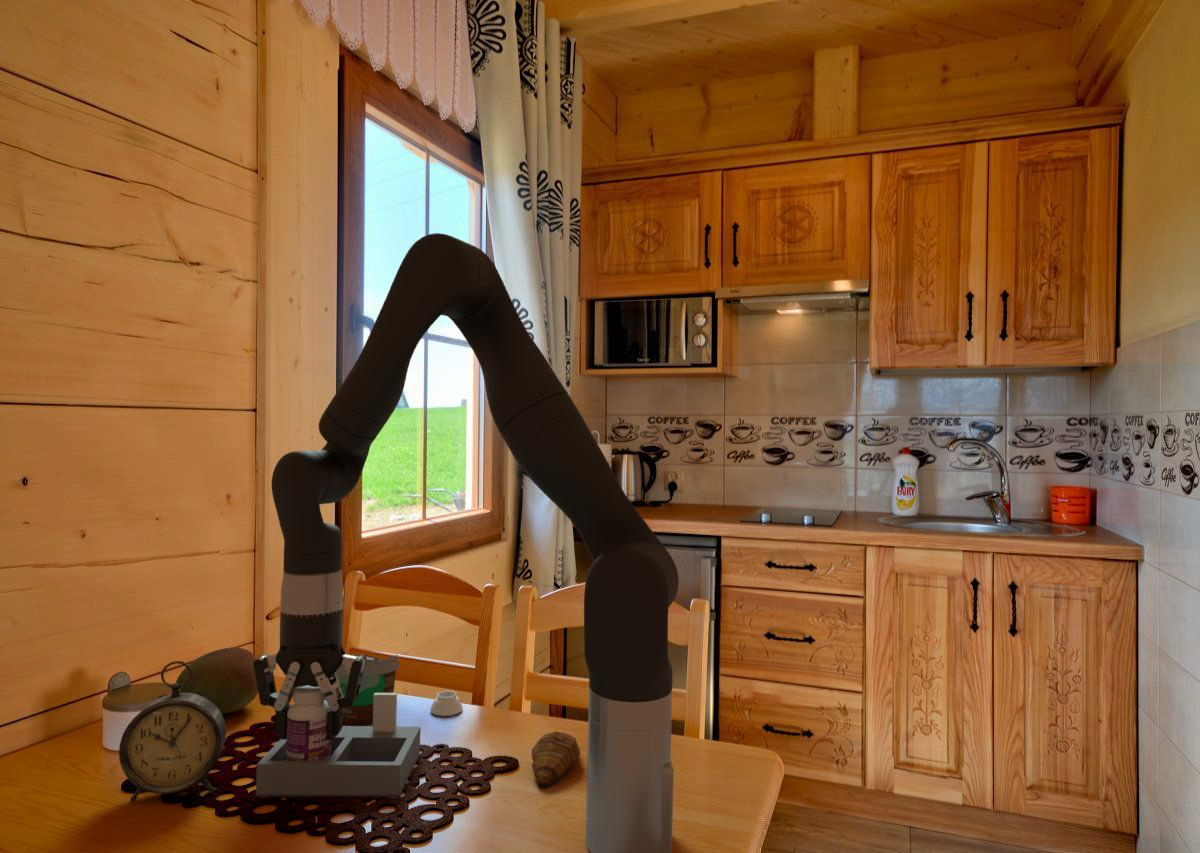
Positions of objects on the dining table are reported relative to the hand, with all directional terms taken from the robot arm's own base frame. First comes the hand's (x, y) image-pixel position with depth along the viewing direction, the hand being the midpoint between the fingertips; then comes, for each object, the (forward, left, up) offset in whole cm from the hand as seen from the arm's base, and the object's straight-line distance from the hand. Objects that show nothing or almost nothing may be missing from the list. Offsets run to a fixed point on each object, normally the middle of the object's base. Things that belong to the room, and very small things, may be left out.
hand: (309, 736), depth 96 cm
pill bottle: (0, 0, -4) cm, 4 cm away
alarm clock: (+15, +4, -6) cm, 16 cm away
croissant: (-32, -5, -6) cm, 33 cm away
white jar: (-14, -24, -6) cm, 28 cm away
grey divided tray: (-4, -1, -6) cm, 7 cm away
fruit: (+22, -22, -6) cm, 32 cm away
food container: (0, -19, -6) cm, 20 cm away
